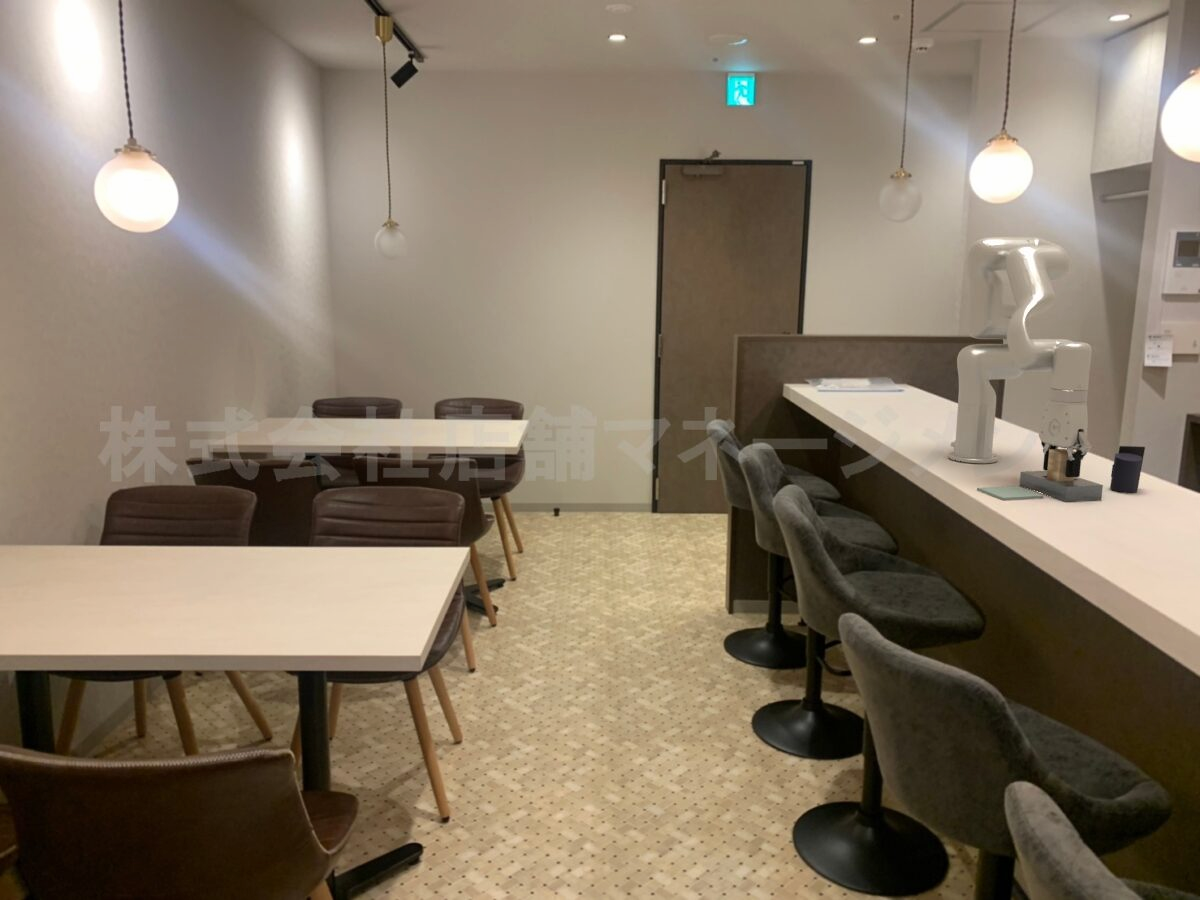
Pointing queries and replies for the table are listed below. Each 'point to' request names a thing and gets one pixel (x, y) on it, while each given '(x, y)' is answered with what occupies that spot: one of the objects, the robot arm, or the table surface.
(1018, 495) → the pad
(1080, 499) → the plate with square hole
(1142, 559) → the table surface
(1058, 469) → the peg
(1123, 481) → the speaker
